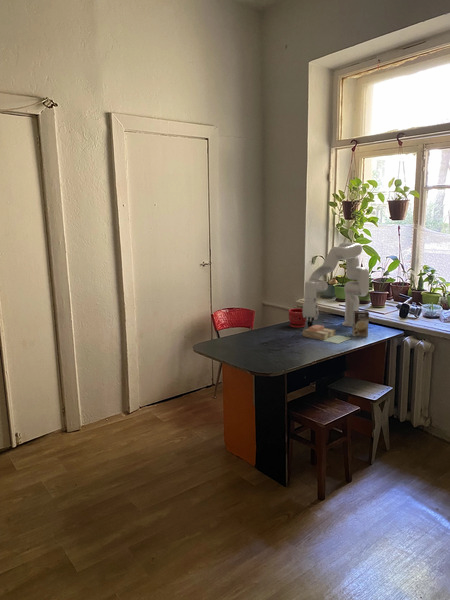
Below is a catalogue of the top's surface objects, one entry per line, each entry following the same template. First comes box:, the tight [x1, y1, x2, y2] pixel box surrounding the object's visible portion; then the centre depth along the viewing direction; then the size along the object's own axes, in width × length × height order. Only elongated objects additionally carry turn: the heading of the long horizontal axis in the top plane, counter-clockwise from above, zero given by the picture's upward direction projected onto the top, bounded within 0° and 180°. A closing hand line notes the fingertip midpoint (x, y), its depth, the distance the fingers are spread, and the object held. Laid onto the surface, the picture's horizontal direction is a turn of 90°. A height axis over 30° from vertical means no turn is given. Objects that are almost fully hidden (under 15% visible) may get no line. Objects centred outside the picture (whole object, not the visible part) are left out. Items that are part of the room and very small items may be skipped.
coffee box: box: [351, 310, 370, 338], centre depth 290 cm, size 9×6×16 cm
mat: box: [322, 334, 352, 345], centre depth 284 cm, size 16×11×1 cm, turn 136°
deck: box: [302, 327, 336, 341], centre depth 293 cm, size 14×16×4 cm
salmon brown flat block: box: [308, 324, 325, 332], centre depth 293 cm, size 9×6×2 cm, turn 136°
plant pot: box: [288, 308, 307, 329], centre depth 317 cm, size 13×13×12 cm
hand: (309, 326), depth 297 cm, fingers closed
